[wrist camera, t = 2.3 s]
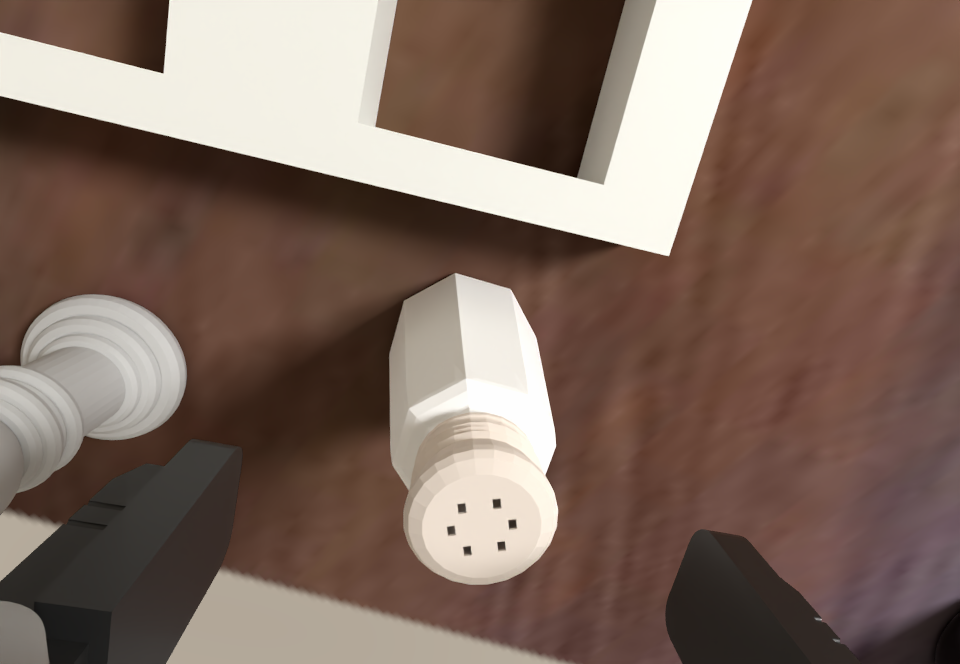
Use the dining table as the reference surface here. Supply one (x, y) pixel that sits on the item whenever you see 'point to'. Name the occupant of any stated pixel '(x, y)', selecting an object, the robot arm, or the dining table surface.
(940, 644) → the supplement bottle
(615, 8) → the dining table surface
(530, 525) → the salt shaker
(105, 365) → the chess piece
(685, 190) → the rail
